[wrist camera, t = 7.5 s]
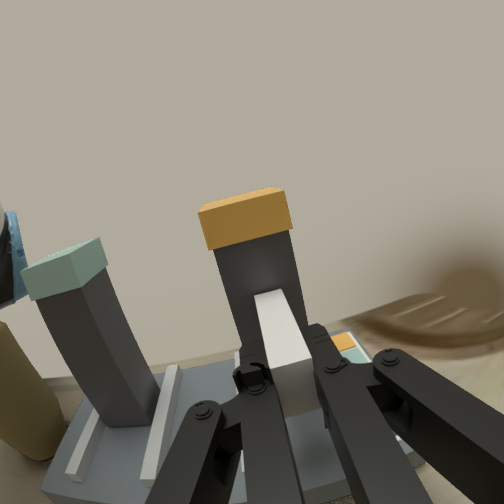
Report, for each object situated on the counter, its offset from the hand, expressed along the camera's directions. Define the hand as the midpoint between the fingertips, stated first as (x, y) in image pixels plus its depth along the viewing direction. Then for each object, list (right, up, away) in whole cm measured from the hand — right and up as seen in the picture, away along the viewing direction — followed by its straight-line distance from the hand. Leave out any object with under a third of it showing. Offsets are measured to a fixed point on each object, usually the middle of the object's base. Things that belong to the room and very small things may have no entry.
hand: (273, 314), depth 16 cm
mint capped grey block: (-10, -9, +4) cm, 14 cm away
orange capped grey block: (+1, -6, +4) cm, 7 cm away
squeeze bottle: (-21, -15, +2) cm, 26 cm away
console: (-4, -10, +2) cm, 11 cm away
